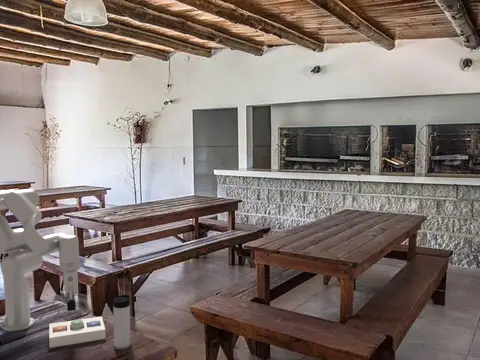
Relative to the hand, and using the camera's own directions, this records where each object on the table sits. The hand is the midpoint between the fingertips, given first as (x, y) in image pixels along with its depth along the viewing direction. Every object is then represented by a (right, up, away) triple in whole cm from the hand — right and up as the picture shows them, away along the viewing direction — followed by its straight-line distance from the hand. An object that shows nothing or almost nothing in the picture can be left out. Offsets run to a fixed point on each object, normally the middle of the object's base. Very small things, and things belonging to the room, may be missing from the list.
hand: (71, 309), depth 179 cm
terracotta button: (-5, -11, 0) cm, 12 cm away
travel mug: (+22, -13, -6) cm, 27 cm away
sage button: (+2, -10, +2) cm, 10 cm away
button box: (+1, -12, +2) cm, 12 cm away
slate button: (+7, -11, +5) cm, 14 cm away
